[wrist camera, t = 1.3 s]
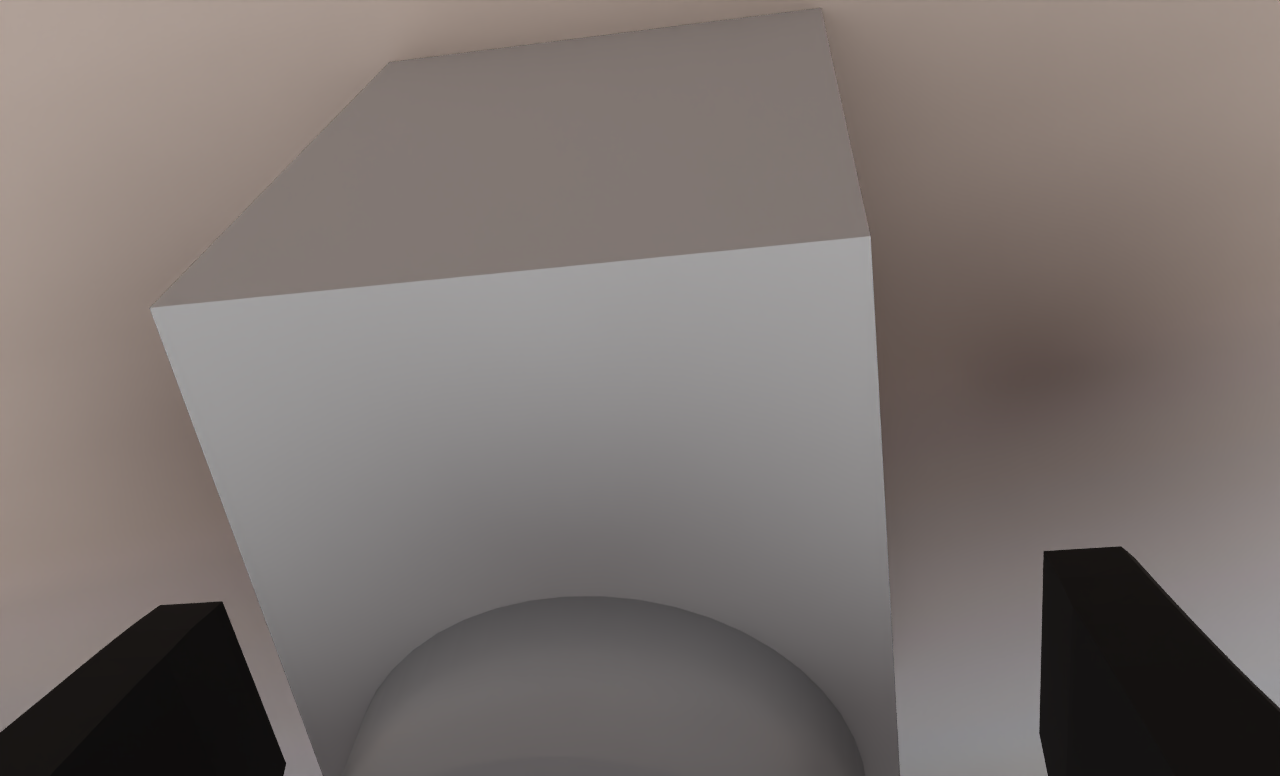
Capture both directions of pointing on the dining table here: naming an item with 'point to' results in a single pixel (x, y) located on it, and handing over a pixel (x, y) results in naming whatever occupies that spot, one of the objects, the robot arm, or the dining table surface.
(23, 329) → the dining table surface
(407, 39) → the dining table surface
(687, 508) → the grey block
